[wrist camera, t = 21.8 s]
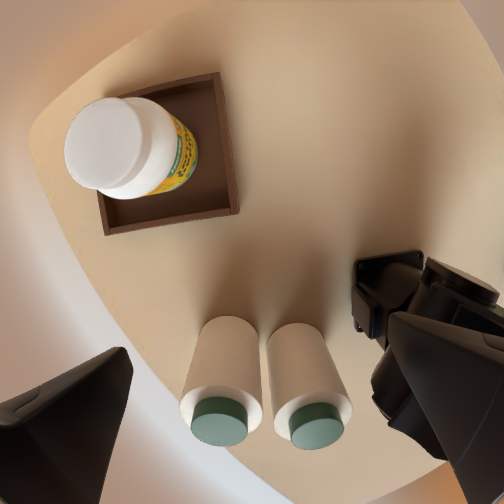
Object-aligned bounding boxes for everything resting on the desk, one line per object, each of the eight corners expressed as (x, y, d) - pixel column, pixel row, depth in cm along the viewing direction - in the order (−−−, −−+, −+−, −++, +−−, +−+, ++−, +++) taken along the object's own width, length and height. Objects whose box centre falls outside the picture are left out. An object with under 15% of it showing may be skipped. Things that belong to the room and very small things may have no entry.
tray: (221, 80, 18) (219, 71, 16) (239, 211, 21) (238, 214, 19) (100, 111, 18) (88, 106, 16) (115, 231, 21) (104, 236, 19)
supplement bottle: (126, 129, 18) (50, 103, 9) (194, 113, 18) (153, 64, 9) (135, 198, 20) (59, 216, 10) (204, 186, 20) (166, 191, 10)
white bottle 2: (322, 318, 23) (362, 398, 13) (323, 365, 24) (354, 448, 14) (262, 327, 23) (271, 415, 13) (269, 373, 24) (278, 462, 14)
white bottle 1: (254, 311, 22) (258, 397, 13) (261, 361, 24) (268, 451, 14) (193, 318, 23) (163, 402, 13) (205, 366, 24) (188, 454, 14)
